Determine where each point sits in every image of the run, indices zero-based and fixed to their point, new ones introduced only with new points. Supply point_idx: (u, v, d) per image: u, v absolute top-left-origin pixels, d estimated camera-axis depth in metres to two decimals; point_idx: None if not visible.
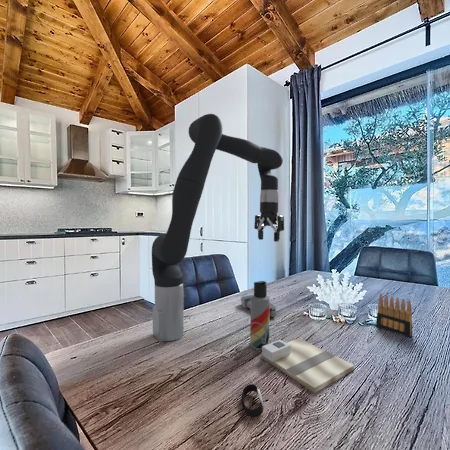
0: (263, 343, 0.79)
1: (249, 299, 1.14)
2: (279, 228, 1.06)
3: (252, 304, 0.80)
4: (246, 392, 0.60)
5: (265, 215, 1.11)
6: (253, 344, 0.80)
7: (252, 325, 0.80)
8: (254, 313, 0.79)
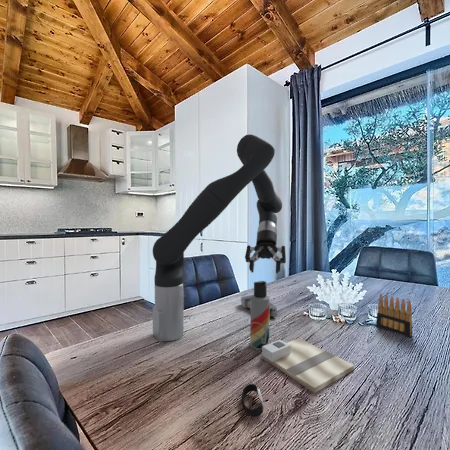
0: (263, 343, 0.79)
1: (249, 299, 1.13)
2: None
3: (252, 304, 0.80)
4: (246, 392, 0.60)
5: None
6: (253, 344, 0.80)
7: (252, 325, 0.80)
8: (254, 313, 0.79)
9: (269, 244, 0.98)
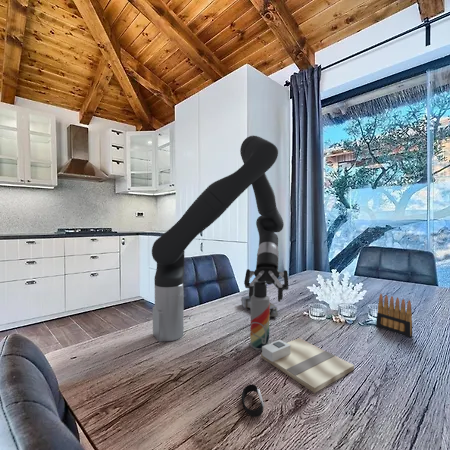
0: (263, 343, 0.79)
1: (250, 299, 1.13)
2: None
3: (252, 304, 0.80)
4: (246, 392, 0.60)
5: None
6: (253, 344, 0.80)
7: (252, 325, 0.80)
8: (254, 313, 0.79)
9: (270, 268, 0.91)
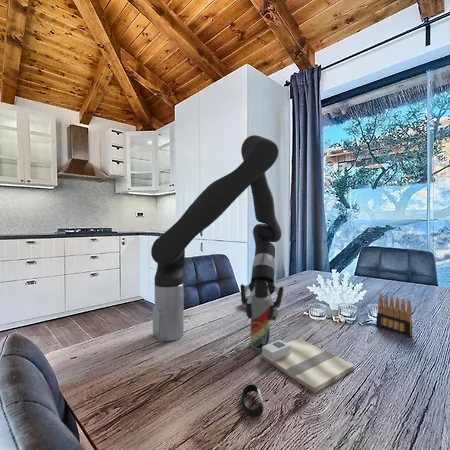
0: (263, 343, 0.79)
1: None
2: None
3: (253, 304, 0.80)
4: (246, 392, 0.60)
5: None
6: (253, 344, 0.80)
7: (252, 325, 0.80)
8: (255, 313, 0.79)
9: None
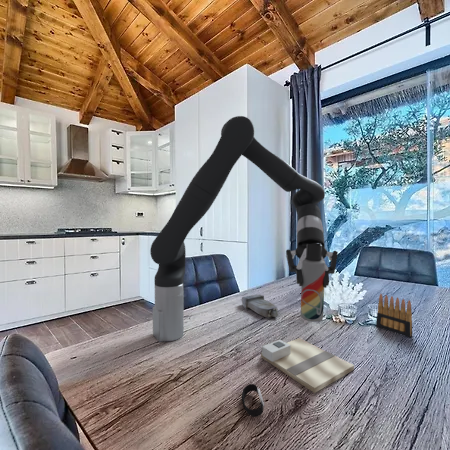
0: (318, 314, 0.68)
1: (250, 299, 1.13)
2: None
3: (305, 269, 0.69)
4: (246, 392, 0.60)
5: None
6: (306, 315, 0.69)
7: (305, 293, 0.69)
8: (308, 279, 0.68)
9: None
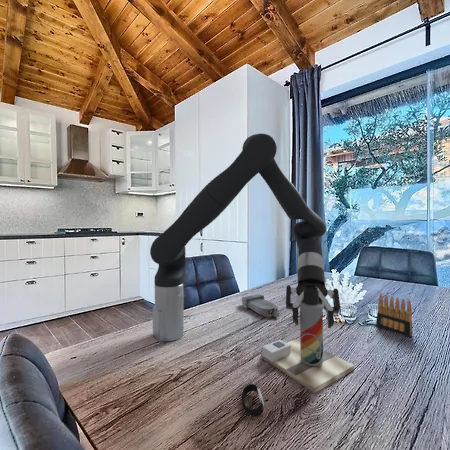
0: (318, 358, 0.68)
1: (250, 299, 1.13)
2: None
3: (303, 313, 0.69)
4: (246, 392, 0.60)
5: None
6: (306, 359, 0.69)
7: (304, 337, 0.70)
8: (306, 323, 0.69)
9: (316, 285, 0.75)
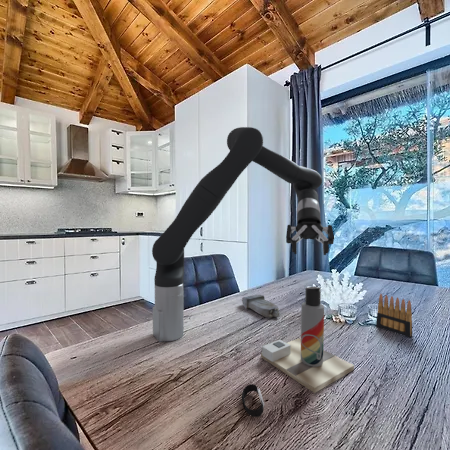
0: (318, 359, 0.68)
1: (251, 299, 1.13)
2: None
3: (305, 314, 0.69)
4: (246, 392, 0.60)
5: None
6: (306, 360, 0.69)
7: (305, 338, 0.69)
8: (307, 324, 0.69)
9: (313, 223, 0.87)
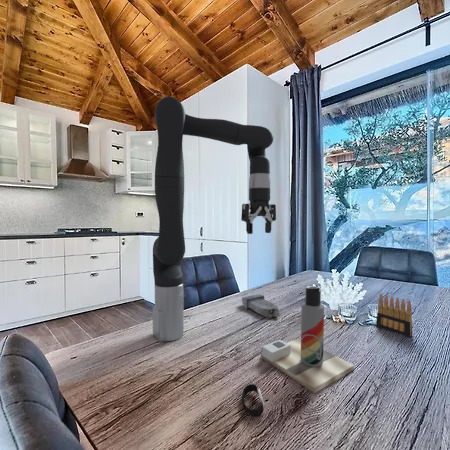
0: (318, 359, 0.68)
1: (251, 299, 1.13)
2: (275, 218, 0.98)
3: (305, 314, 0.69)
4: (246, 392, 0.60)
5: (259, 204, 0.94)
6: (306, 360, 0.69)
7: (305, 338, 0.69)
8: (308, 324, 0.69)
9: None
